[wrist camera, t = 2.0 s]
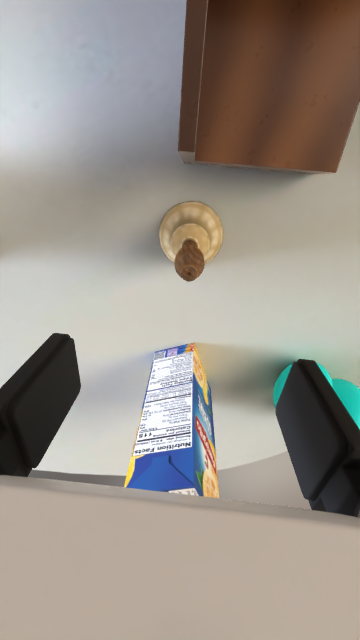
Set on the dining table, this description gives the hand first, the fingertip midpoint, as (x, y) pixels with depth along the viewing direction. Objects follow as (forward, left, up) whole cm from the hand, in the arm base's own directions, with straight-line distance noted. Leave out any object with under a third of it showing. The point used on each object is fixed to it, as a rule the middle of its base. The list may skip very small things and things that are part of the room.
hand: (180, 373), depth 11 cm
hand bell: (0, +1, -26) cm, 26 cm away
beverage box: (+1, -22, -26) cm, 34 cm away
